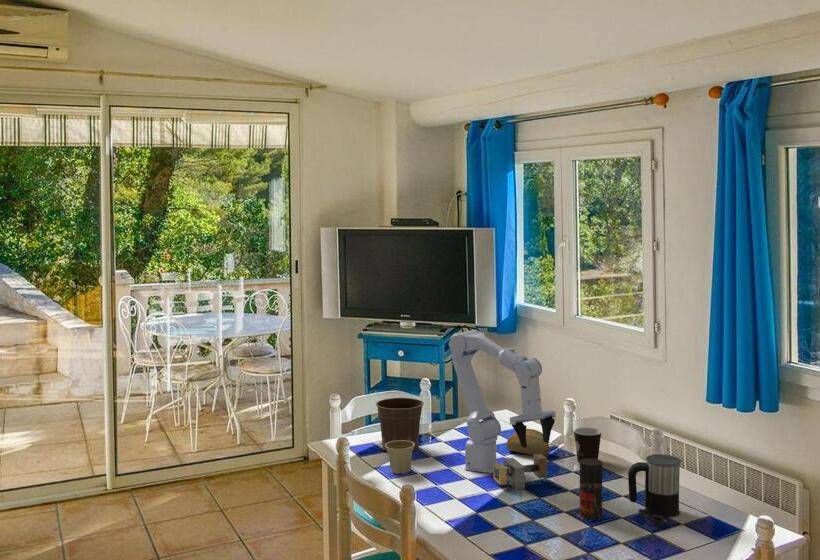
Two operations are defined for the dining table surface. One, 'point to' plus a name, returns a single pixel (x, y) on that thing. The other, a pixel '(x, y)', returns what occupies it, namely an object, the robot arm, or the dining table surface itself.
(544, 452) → the bread roll
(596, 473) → the deodorant
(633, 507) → the dining table surface
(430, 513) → the dining table surface
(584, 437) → the coffee mug
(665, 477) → the milk frother
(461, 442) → the dining table surface
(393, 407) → the plant pot
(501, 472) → the frame
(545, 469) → the shaft
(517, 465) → the bearing
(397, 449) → the flower pot
